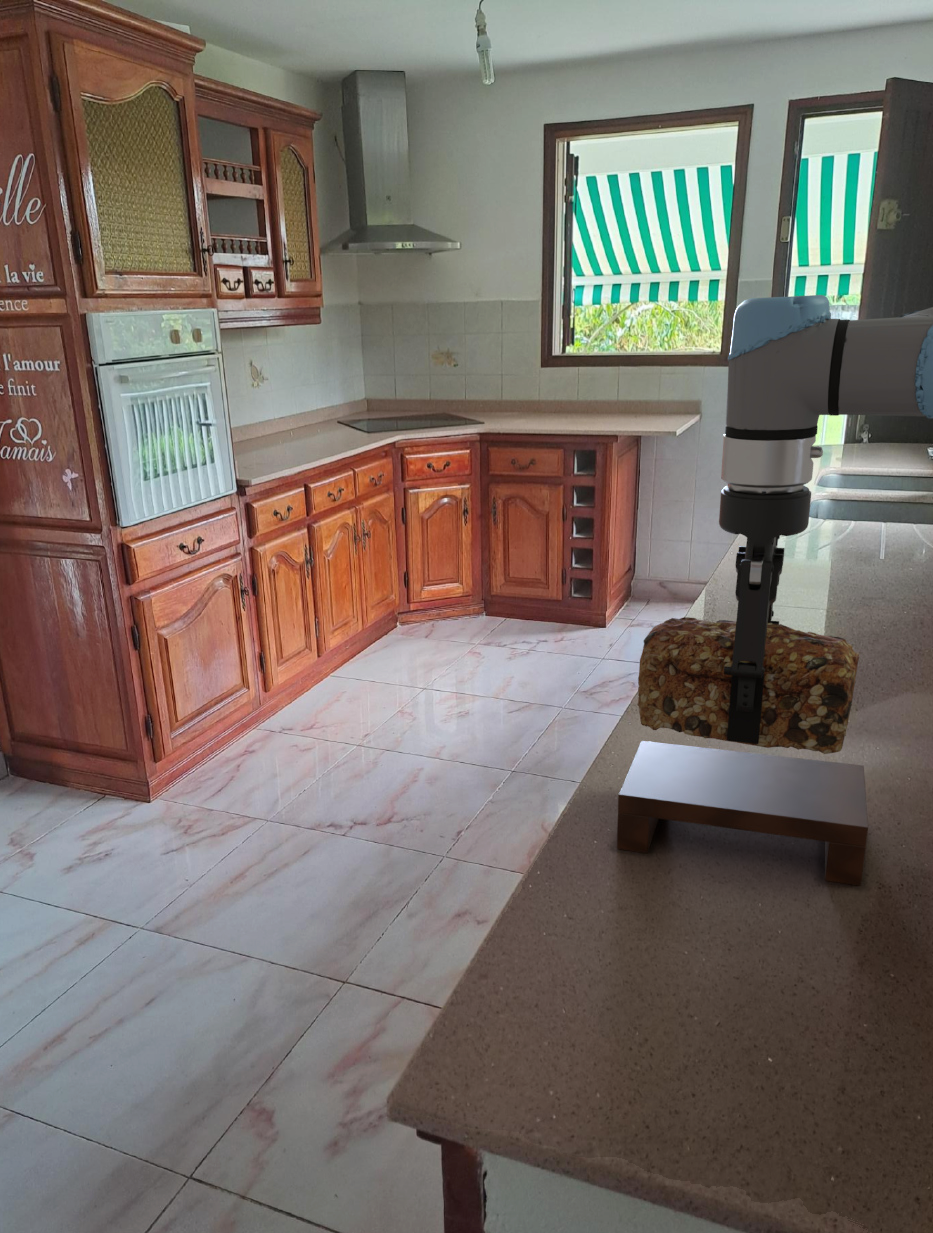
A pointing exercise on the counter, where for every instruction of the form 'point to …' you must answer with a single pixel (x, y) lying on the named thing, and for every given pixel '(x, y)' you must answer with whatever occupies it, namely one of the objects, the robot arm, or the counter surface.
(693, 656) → the bread
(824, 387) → the robot arm
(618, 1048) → the counter surface
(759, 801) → the shelf
